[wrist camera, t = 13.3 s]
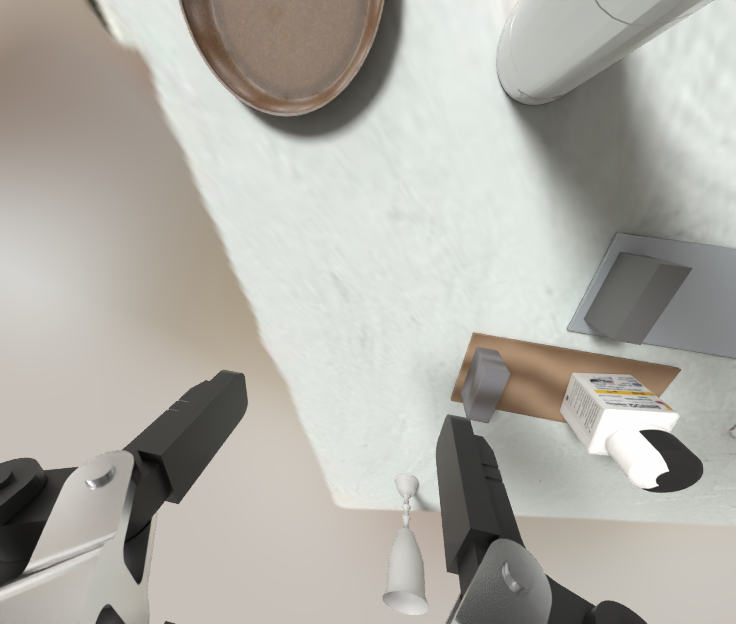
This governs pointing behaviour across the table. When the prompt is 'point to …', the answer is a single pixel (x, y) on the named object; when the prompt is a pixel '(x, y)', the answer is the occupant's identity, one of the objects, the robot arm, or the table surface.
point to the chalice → (406, 561)
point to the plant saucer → (283, 48)
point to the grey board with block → (663, 295)
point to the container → (630, 430)
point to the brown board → (536, 376)
